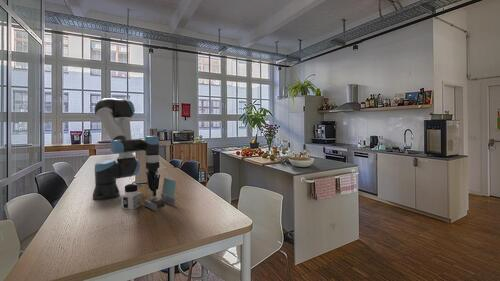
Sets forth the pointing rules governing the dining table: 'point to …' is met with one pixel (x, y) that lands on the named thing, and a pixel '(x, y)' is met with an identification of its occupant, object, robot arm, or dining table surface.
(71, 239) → the dining table surface
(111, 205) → the dining table surface
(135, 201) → the container
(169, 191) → the lid
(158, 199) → the dark grey rounded disc
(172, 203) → the dark grey shallow box
